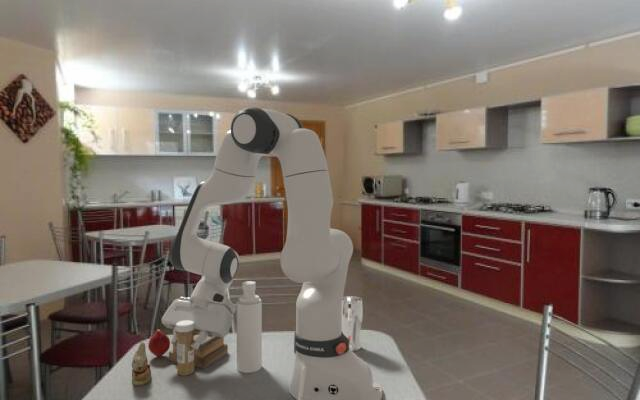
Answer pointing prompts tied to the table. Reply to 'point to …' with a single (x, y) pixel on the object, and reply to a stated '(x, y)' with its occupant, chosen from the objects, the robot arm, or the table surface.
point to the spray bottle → (249, 329)
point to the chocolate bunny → (140, 367)
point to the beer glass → (352, 320)
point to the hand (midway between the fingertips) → (183, 346)
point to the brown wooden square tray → (205, 351)
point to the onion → (159, 343)
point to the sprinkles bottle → (185, 347)
